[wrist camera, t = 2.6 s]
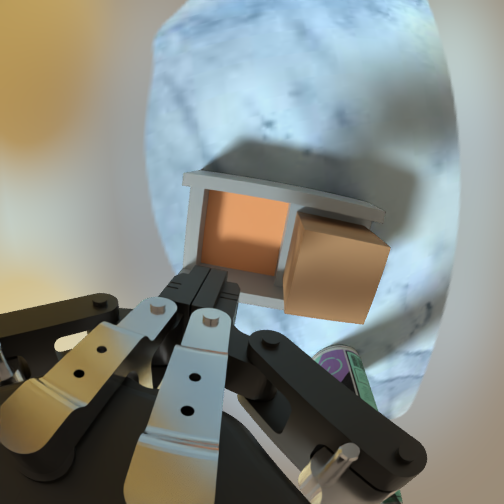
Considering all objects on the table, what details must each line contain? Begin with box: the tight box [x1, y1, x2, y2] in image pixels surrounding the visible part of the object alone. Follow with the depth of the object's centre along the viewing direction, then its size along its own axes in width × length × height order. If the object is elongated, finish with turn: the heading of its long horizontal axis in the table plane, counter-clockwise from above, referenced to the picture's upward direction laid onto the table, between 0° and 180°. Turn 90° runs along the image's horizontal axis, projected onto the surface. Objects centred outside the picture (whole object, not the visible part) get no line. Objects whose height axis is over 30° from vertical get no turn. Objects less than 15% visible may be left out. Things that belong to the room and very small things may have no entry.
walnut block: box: [283, 211, 391, 324], centre depth 17 cm, size 5×5×5 cm
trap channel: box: [178, 170, 386, 310], centre depth 19 cm, size 8×13×4 cm, turn 81°
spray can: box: [312, 345, 403, 504], centre depth 16 cm, size 6×6×20 cm
